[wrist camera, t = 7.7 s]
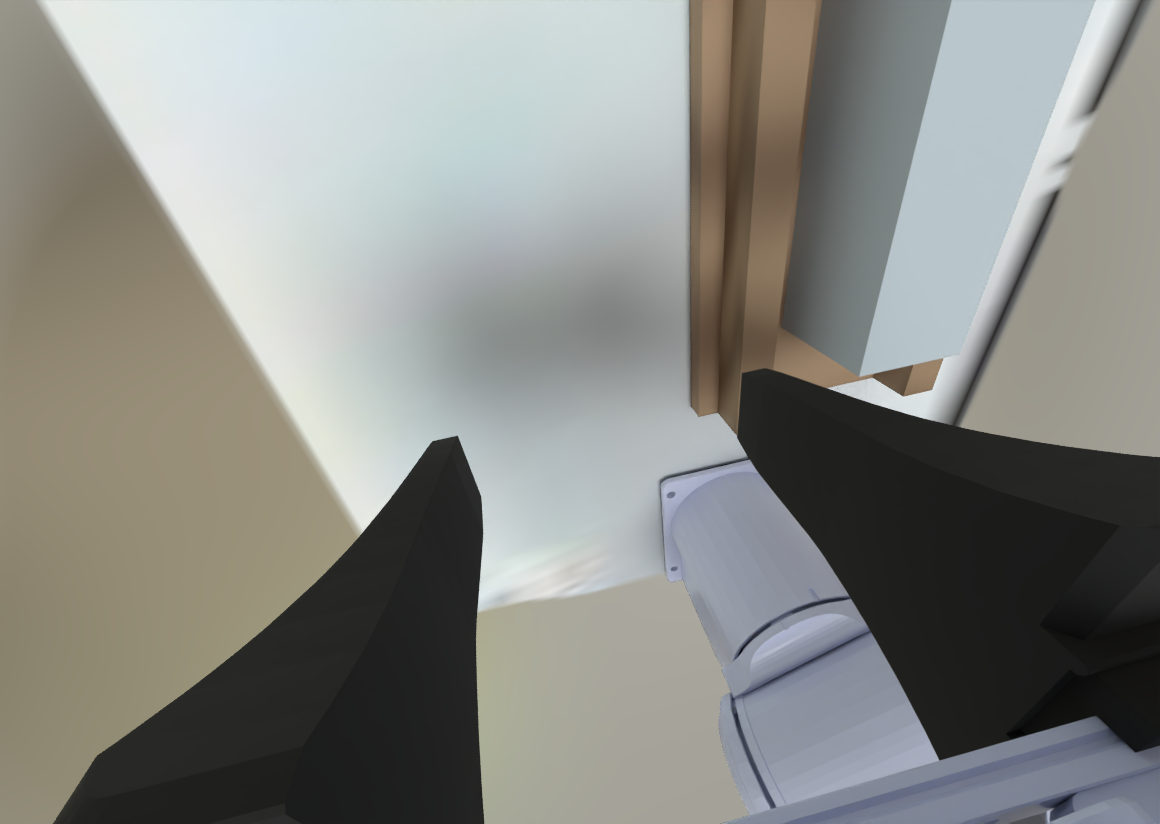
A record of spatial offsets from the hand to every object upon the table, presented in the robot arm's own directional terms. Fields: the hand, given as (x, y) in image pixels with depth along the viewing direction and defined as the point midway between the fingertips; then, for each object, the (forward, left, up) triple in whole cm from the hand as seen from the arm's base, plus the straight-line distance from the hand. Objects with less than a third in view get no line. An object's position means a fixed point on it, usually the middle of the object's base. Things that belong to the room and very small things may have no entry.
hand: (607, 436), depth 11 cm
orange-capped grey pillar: (+4, -12, -8) cm, 15 cm away
